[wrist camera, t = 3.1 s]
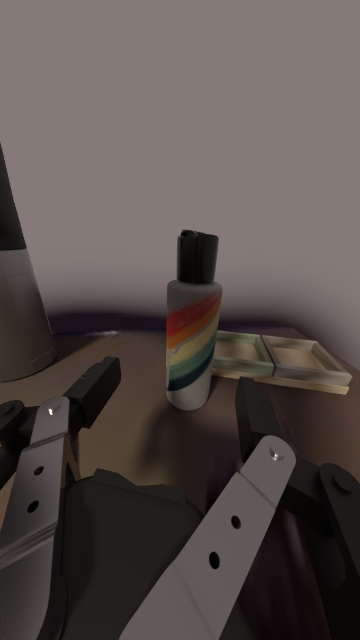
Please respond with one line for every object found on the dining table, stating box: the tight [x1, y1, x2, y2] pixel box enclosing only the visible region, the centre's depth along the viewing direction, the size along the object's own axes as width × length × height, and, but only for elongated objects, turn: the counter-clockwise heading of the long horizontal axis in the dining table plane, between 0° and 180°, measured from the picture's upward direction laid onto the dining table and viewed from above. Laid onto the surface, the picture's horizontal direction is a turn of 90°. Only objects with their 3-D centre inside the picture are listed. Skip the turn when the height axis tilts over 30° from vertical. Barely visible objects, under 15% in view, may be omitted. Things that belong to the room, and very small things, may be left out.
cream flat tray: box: [211, 330, 352, 395], centre depth 31 cm, size 20×10×3 cm, turn 80°
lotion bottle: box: [166, 230, 222, 411], centre depth 21 cm, size 6×6×20 cm
